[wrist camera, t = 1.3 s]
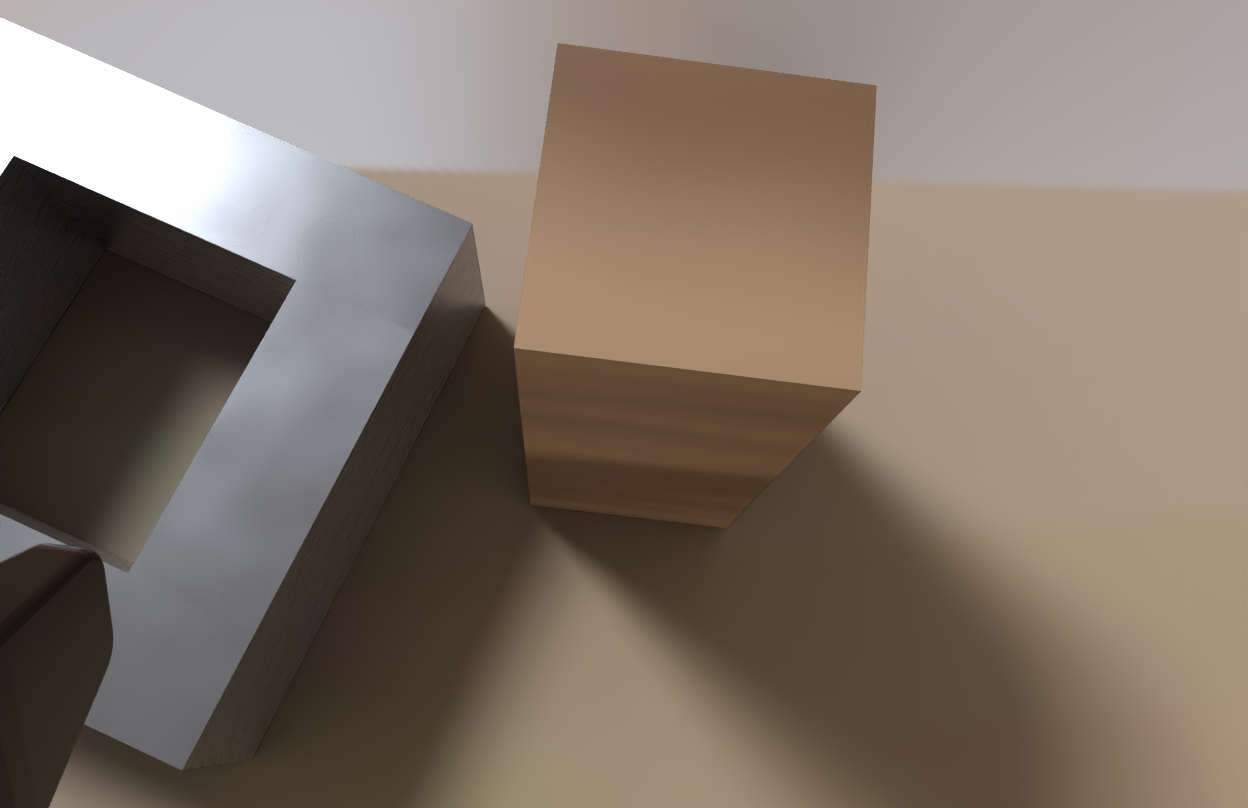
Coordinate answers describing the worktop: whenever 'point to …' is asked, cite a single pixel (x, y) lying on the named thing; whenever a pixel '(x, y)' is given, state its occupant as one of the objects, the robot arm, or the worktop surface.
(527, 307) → the brown tall square block
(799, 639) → the worktop surface
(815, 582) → the worktop surface
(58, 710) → the robot arm
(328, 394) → the well block
